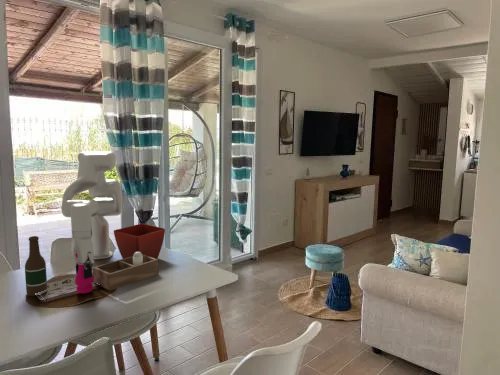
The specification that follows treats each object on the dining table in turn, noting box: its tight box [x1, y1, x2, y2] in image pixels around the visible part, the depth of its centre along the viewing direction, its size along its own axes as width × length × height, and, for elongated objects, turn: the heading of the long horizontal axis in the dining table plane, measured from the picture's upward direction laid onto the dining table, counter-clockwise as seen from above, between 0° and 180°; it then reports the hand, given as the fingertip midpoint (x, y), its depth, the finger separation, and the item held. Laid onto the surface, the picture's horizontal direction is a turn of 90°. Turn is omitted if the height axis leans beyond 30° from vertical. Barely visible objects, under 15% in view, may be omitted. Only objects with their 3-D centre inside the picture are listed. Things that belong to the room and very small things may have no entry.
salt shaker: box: [133, 252, 143, 266], centre depth 174 cm, size 4×4×11 cm
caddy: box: [92, 254, 159, 291], centre depth 170 cm, size 13×25×8 cm, turn 142°
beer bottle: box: [24, 235, 48, 298], centre depth 153 cm, size 8×8×24 cm
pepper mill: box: [74, 253, 94, 294], centre depth 154 cm, size 7×7×20 cm
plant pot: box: [113, 223, 166, 259], centre depth 196 cm, size 19×19×17 cm
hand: (84, 275), depth 154 cm, fingers closed on pepper mill, 5 cm apart
